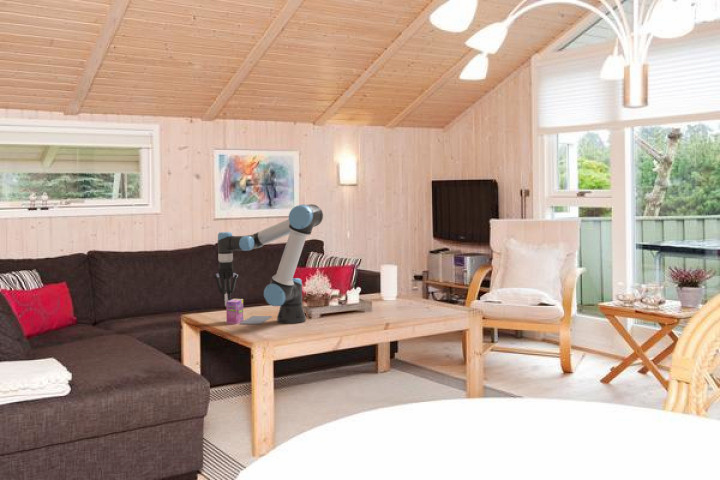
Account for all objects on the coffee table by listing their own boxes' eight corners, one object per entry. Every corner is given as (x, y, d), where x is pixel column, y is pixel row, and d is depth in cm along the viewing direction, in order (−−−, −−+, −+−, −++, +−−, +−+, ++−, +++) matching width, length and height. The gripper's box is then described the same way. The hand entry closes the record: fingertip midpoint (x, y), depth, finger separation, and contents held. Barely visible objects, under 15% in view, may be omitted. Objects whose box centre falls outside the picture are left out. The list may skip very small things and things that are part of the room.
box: (236, 324, 382) (236, 301, 382) (226, 324, 384) (225, 301, 383) (243, 320, 393) (243, 298, 392) (233, 320, 394) (233, 298, 393)
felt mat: (271, 316, 404) (271, 316, 404) (259, 324, 380) (259, 323, 380) (252, 316, 405) (252, 315, 405) (239, 324, 382) (239, 323, 382)
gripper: (239, 260, 389) (241, 304, 391) (216, 260, 391) (217, 304, 393) (235, 262, 382) (236, 307, 383) (211, 262, 384) (212, 307, 385)
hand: (227, 305), depth 388 cm, fingers closed
